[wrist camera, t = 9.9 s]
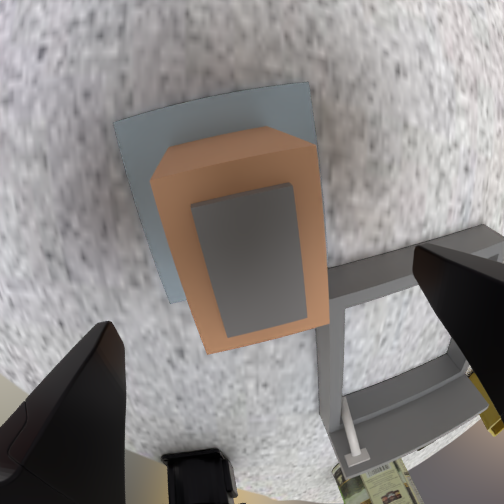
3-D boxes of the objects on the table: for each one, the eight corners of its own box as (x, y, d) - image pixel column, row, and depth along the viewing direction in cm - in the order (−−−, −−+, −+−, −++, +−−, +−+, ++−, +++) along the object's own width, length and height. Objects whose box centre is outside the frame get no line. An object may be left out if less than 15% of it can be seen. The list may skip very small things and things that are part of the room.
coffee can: (345, 479, 41) (371, 546, 28) (321, 469, 36) (350, 551, 24) (400, 449, 39) (434, 515, 27) (386, 434, 35) (427, 516, 22)
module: (200, 267, 18) (207, 361, 12) (168, 147, 15) (147, 184, 8) (285, 247, 19) (333, 329, 12) (266, 126, 15) (321, 147, 9)
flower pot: (453, 382, 32) (487, 431, 24) (500, 336, 30) (539, 379, 23) (465, 396, 36) (494, 437, 28) (505, 357, 34) (538, 394, 26)
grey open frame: (319, 413, 28) (345, 480, 21) (311, 273, 20) (366, 361, 13) (449, 360, 29) (486, 409, 22) (483, 224, 21) (551, 270, 14)
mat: (170, 300, 19) (170, 303, 19) (114, 122, 14) (113, 122, 14) (325, 262, 20) (328, 265, 20) (306, 82, 15) (308, 81, 14)
